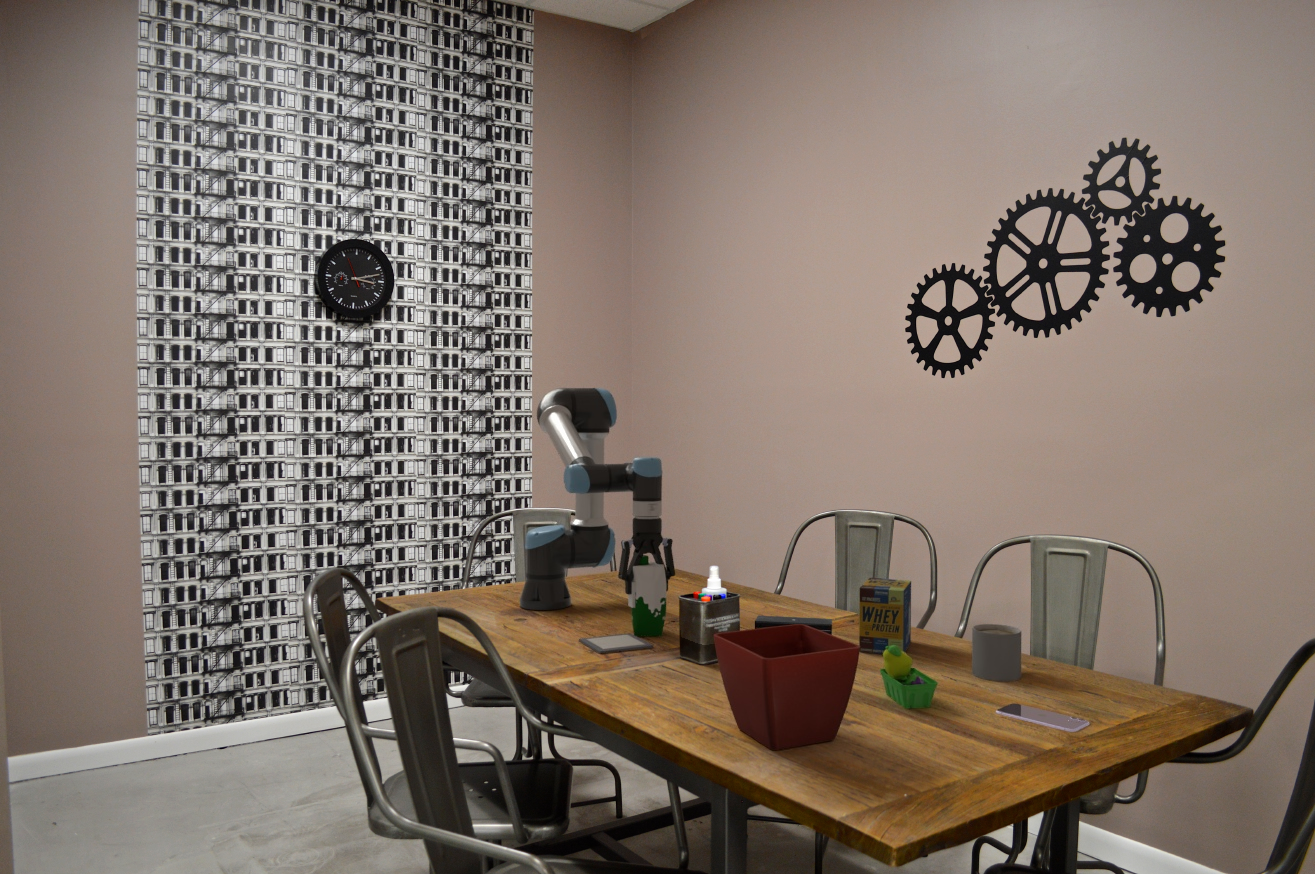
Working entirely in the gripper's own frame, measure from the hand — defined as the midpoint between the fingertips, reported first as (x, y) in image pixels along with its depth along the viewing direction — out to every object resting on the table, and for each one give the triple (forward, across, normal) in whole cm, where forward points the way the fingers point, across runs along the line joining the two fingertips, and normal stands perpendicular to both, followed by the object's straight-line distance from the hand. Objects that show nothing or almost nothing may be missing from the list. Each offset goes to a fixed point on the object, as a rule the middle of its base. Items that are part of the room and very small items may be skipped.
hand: (646, 605), depth 238 cm
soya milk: (+8, +1, 0) cm, 8 cm away
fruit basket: (+8, +22, -74) cm, 77 cm away
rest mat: (+8, -12, -7) cm, 15 cm away
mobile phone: (+8, +37, -93) cm, 100 cm away
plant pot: (+8, -10, -80) cm, 81 cm away
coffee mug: (+8, +54, -68) cm, 87 cm away
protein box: (+8, +46, -38) cm, 60 cm away
